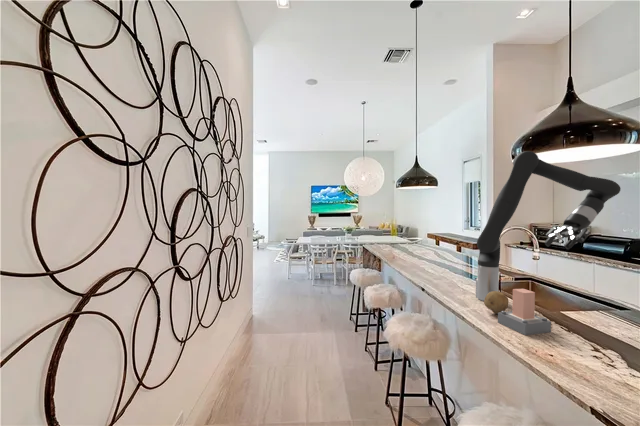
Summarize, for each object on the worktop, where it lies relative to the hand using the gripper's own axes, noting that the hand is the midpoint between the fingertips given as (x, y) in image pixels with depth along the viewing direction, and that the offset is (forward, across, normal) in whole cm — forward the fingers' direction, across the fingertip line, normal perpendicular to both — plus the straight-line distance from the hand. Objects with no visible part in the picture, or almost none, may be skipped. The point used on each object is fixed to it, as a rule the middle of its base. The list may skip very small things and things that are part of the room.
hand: (556, 246), depth 119 cm
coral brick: (+32, +5, +5) cm, 33 cm away
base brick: (+35, +5, +8) cm, 37 cm away
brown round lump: (+36, -9, +8) cm, 38 cm away
